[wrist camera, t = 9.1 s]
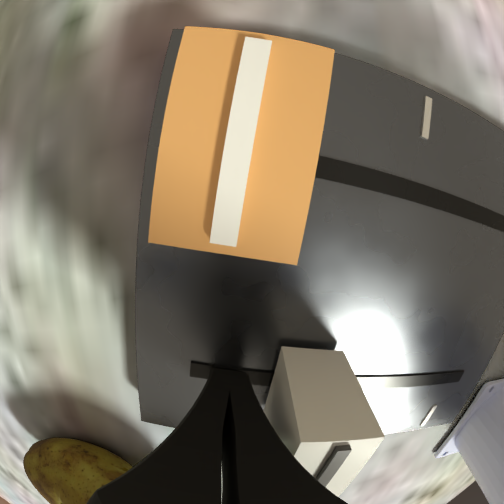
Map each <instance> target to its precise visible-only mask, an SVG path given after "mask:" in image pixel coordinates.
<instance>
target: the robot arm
mask: <svg viewBox="0 0 504 504" xmlns="http://www.w3.org/2000/svg"><path fill="white" fill-rule="evenodd" d="M456 452H459V453H460V454H461V456H462V458H463V459H464V461H465V463H466V464H467V466H468V467H469V469H470V471H471V472H472V474H473V476H474V478H475V479H476V481H477V483H478V484H479V486H480V488H481V490H482V491H483V493H484V495H485V497H486V499H487V500H488V502H489V504H504V379H499V380H495V381H490V382H487V383H485V384H484V385H483V386H482V388H481V389H480V391H479V393H478V394H477V396H476V397H475V399H474V401H473V402H472V404H471V405H470V407H469V408H468V410H467V411H466V413H465V414H464V416H463V417H462V418H461V420H460V421H459V423H458V424H457V426H456V427H455V428H454V430H453V431H452V432H451V434H450V435H449V436H448V438H447V439H446V440H445V441H444V443H443V444H442V445H441V446H440V448H439V449H438V450H437V451H436V453H435V454H434V456H435V458H440V457H444V456H447V455H450V454H453V453H456ZM221 462H222V478H223V492H222V504H348V503H346V502H345V501H343V500H342V499H340V498H339V497H337V496H336V495H335V494H333V493H332V492H331V491H329V490H328V489H327V488H326V487H324V486H323V485H322V484H321V483H320V482H319V481H318V480H317V479H316V478H314V477H313V476H312V475H311V474H310V473H309V472H308V471H307V470H306V469H305V468H304V467H303V466H302V465H301V464H300V463H299V462H298V460H297V459H296V458H295V457H294V456H293V455H292V453H291V452H290V451H289V450H288V448H287V447H286V446H285V445H284V443H283V442H282V440H281V439H280V438H279V436H278V435H277V433H276V432H275V430H274V428H273V427H272V425H271V424H270V422H269V420H268V418H267V417H266V415H265V413H264V411H263V409H262V407H261V405H260V403H259V401H258V399H257V397H256V394H255V392H254V390H253V387H252V384H251V382H250V378H249V375H248V374H247V373H246V372H240V371H232V370H224V369H217V368H213V369H211V370H210V373H209V376H208V379H207V381H206V384H205V386H204V387H203V389H202V391H201V393H200V395H199V396H198V398H197V400H196V401H195V403H194V404H193V406H192V407H191V409H190V410H189V412H188V413H187V414H186V416H185V417H184V418H183V420H182V421H181V422H180V423H179V425H178V426H177V427H176V428H175V429H174V431H173V432H172V433H171V434H170V435H169V436H168V437H167V438H166V439H165V440H164V441H163V442H162V443H161V444H160V445H159V446H158V447H157V448H156V449H155V450H154V451H153V452H151V453H150V454H149V455H148V456H147V457H146V458H144V459H143V460H142V461H140V462H139V463H138V464H136V465H135V466H134V467H132V468H131V469H130V470H128V471H127V472H126V473H124V474H123V475H121V476H119V477H118V478H116V479H114V480H113V481H111V482H109V483H107V484H106V485H104V486H102V487H100V488H98V489H97V490H96V491H95V492H94V493H93V495H92V496H91V497H90V499H89V500H88V502H87V504H221Z"/></svg>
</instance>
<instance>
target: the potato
mask: <svg viewBox="0 0 504 504" xmlns="http://www.w3.org/2000/svg"><path fill="white" fill-rule="evenodd" d="M23 463H24V469H25V472H26V474H27V476H28V478H29V480H30V481H31V483H32V484H33V486H34V487H35V488H36V489H37V490H38V492H39V493H40V494H41V495H42V496H43V497H44V498H45V499H46V500H47V501H48V502H49V503H50V504H87V502H88V500H89V499H90V497H91V496H92V495H93V493H94V492H95V491H96V490H97V489H98V488H100V487H102V486H104V485H106V484H107V483H109V482H111V481H113V480H114V479H116V478H118V477H119V476H121V475H123V474H124V473H126V472H127V471H128V470H130V469H131V468H132V467H133V466H131V465H130V464H129V463H128V462H126V461H125V460H123V459H122V458H120V457H119V456H117V455H115V454H113V453H112V452H110V451H108V450H106V449H104V448H101V447H98V446H96V445H93V444H90V443H87V442H84V441H80V440H76V439H69V438H60V437H59V438H49V439H45V440H41V441H38V442H36V443H34V444H33V445H32V446H31V447H30V449H29V451H28V452H27V453H26V455H25V457H24V460H23Z"/></svg>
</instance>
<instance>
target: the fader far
mask: <svg viewBox="0 0 504 504" xmlns="http://www.w3.org/2000/svg"><path fill="white" fill-rule="evenodd" d="M264 413H265V415H266V417H267V418H268V420H269V422H270V424H271V425H272V427H273V428H274V430H275V432H276V433H277V435H278V436H279V438H280V439H281V440H282V442H283V443H284V445H285V446H286V447H287V448H288V450H289V451H290V452H291V453H292V455H293V456H294V457H295V458H296V459H297V460H298V462H299V463H300V464H301V465H302V466H303V467H304V468H305V469H306V470H307V471H308V472H309V473H310V474H311V475H312V476H313V477H314V478H316V479H317V480H318V481H319V482H320V483H321V484H322V485H323V486H324V487H326V488H327V489H328V490H329V491H331V492H332V493H333V494H335V495H336V496H337V497H339V495H340V494H341V493H342V492H343V491H344V490H345V489H346V487H347V486H348V485H349V484H350V483H351V481H352V480H353V479H354V478H355V477H356V475H357V474H358V473H359V472H360V470H361V469H362V468H363V466H364V465H365V464H366V463H367V461H368V460H369V459H370V457H371V456H372V454H373V453H374V452H375V450H376V449H377V448H378V446H379V445H380V443H381V442H382V440H383V439H384V437H385V436H384V434H383V432H382V430H381V427H380V425H379V423H378V421H377V419H376V417H375V415H374V413H373V411H372V408H371V406H370V404H369V402H368V400H367V398H366V396H365V394H364V392H363V390H362V388H361V386H360V384H359V382H358V380H357V378H356V376H355V374H354V371H353V369H352V367H351V365H350V363H349V361H348V359H347V357H346V355H345V353H344V352H343V351H337V350H321V349H308V348H296V347H285V346H281V350H280V354H279V357H278V361H277V365H276V368H275V372H274V376H273V379H272V383H271V386H270V390H269V393H268V397H267V400H266V404H265V407H264Z"/></svg>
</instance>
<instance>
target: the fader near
mask: <svg viewBox="0 0 504 504" xmlns="http://www.w3.org/2000/svg"><path fill="white" fill-rule="evenodd" d="M334 52H335V50H334V49H331V48H327V47H323V46H319V45H315V44H311V43H307V42H303V41H298V40H294V39H289V38H284V37H279V36H273V35H268V34H262V33H255V32H248V31H240V30H232V29H221V28H209V27H190V26H185V29H184V32H183V36H182V40H181V44H180V47H179V51H178V55H177V59H176V63H175V68H174V72H173V76H172V81H171V85H170V90H169V95H168V100H167V105H166V110H165V115H164V121H163V126H162V132H161V138H160V144H159V151H158V157H157V164H156V171H155V179H154V187H153V196H152V205H151V215H150V226H149V238H148V243H154V244H161V245H167V246H174V247H180V248H186V249H193V250H199V251H206V252H212V253H219V254H226V255H232V256H239V257H245V258H252V259H258V260H265V261H272V262H278V263H285V264H292V265H297V263H298V258H299V254H300V249H301V244H302V240H303V235H304V230H305V225H306V220H307V215H308V210H309V205H310V200H311V195H312V190H313V185H314V179H315V174H316V168H317V163H318V157H319V151H320V146H321V140H322V134H323V128H324V122H325V115H326V109H327V102H328V96H329V89H330V82H331V75H332V67H333V60H334Z"/></svg>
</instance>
